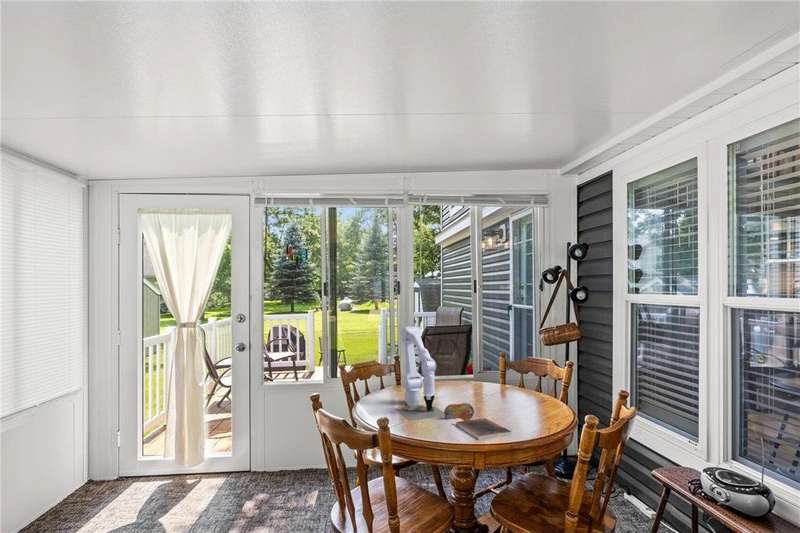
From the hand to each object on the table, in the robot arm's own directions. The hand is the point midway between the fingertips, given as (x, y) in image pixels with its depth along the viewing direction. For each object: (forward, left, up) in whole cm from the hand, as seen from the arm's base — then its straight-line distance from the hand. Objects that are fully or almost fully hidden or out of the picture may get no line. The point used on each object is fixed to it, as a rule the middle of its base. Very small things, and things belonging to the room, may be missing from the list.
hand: (429, 410), depth 231 cm
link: (-5, -4, 0) cm, 6 cm away
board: (-1, -4, -2) cm, 5 cm away
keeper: (-5, -5, -1) cm, 7 cm away
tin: (+14, +10, -2) cm, 18 cm away
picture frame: (+31, +14, -3) cm, 34 cm away
